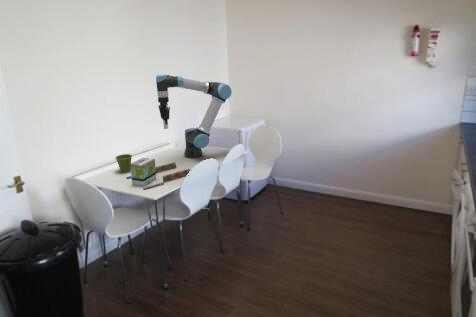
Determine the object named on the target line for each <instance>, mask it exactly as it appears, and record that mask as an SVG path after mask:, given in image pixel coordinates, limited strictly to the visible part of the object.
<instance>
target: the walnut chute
mask: <svg viewBox="0 0 476 317" xmlns="http://www.w3.org/2000/svg"><path fill="white" fill-rule="evenodd" d="M176 163H177V162H171V163H166V164H163V165H158V166H156V174H158V173H162V172H167V171H170V170H174V169H176V168H177V164H176ZM189 171H191V169H190V168H187V169H183V170H179V171H176V172H173V173H168V174H166V175H165V174H164V175H162V182H163V183H167V182H172V181H174V180H178V179H181V178H185V177H187V176H186V175H187V174H188V173H189ZM177 178H178V179H177Z"/></svg>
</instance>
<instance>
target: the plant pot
mask: <svg viewBox="0 0 476 317" xmlns="http://www.w3.org/2000/svg"><path fill="white" fill-rule="evenodd" d="M132 157H133V155H132V154H131V153H130V154H129V153H125V154H119V155H116V156H115V157H114V158H115V160H116V162H117V165H118V168H119V171H120V173H129V172H131V166H130V164H131V163H132Z"/></svg>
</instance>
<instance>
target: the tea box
mask: <svg viewBox="0 0 476 317" xmlns="http://www.w3.org/2000/svg"><path fill="white" fill-rule="evenodd" d="M130 166H131V170H130V174H131V175H130V176H131V177H132V178H131V185H132V186H133V185H134V186H140V187H146V186H147V185H148V184H150V183H152V182H153V181H154V180H157V173H156V167H157V166H156V159H155V158H150V157H141V158H140V159H137V160H136V161H133V162H131V164H130Z"/></svg>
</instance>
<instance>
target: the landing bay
mask: <svg viewBox="0 0 476 317" xmlns="http://www.w3.org/2000/svg"><path fill="white" fill-rule="evenodd" d="M125 178H126V180H129V179H132V177H131V175H129V176H126V177H125ZM164 185H165V182H163V181H162V182H158V183H155V184H152V185H148V186H147V185H146V186H143V188H142V189H143V190H144V191H146V189H147V190H149V189H153V188H156V187H159V186H164Z"/></svg>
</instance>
